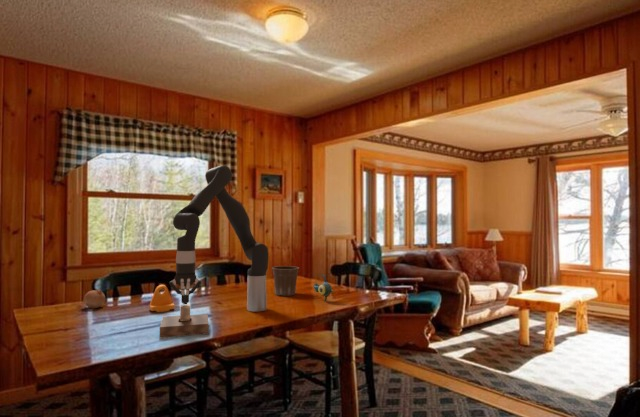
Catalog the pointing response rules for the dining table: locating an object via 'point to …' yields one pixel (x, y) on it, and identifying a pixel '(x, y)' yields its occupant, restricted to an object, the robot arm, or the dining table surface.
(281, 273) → the plant pot
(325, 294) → the decorative fish
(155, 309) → the bracket
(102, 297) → the onion
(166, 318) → the board
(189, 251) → the robot arm
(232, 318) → the dining table surface
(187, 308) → the peg
